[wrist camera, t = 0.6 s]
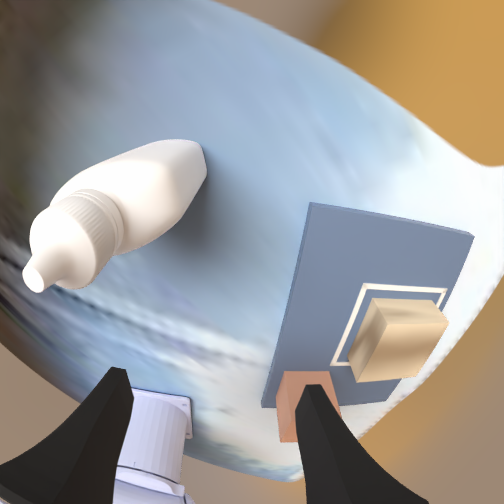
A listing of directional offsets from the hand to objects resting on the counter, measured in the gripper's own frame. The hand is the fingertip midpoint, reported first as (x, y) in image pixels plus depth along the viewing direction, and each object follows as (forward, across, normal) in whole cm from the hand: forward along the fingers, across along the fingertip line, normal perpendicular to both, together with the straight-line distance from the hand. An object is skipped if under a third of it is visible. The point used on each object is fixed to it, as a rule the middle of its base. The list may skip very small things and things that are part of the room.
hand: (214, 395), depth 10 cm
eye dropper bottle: (+10, +4, -6) cm, 13 cm away
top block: (+9, -7, +11) cm, 16 cm away
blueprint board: (+10, -12, +5) cm, 16 cm away
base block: (+9, -14, +4) cm, 17 cm away
